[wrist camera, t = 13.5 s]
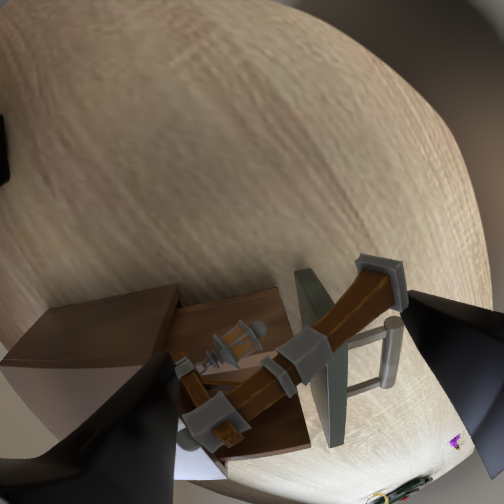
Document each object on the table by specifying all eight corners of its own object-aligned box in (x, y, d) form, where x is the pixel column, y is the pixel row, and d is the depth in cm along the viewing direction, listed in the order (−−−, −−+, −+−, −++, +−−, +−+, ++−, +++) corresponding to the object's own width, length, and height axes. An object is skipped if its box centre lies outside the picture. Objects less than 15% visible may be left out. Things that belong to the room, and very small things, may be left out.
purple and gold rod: (449, 442, 36) (456, 449, 41) (451, 445, 35) (458, 451, 40) (456, 434, 36) (462, 442, 41) (459, 436, 35) (465, 444, 40)
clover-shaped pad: (364, 504, 47) (367, 515, 43) (414, 476, 43) (419, 488, 39) (390, 500, 51) (394, 509, 47) (433, 474, 47) (438, 483, 43)
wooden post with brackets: (142, 358, 9) (164, 452, 4) (314, 244, 11) (408, 262, 7) (170, 390, 9) (207, 479, 5) (327, 280, 12) (414, 308, 8)
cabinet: (177, 283, 19) (146, 364, 11) (227, 403, 23) (228, 478, 15) (47, 309, 19) (-4, 365, 11) (112, 409, 24) (91, 469, 15)
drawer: (374, 251, 18) (430, 294, 12) (371, 371, 22) (400, 422, 16) (137, 304, 18) (104, 365, 12) (192, 410, 22) (187, 469, 16)
